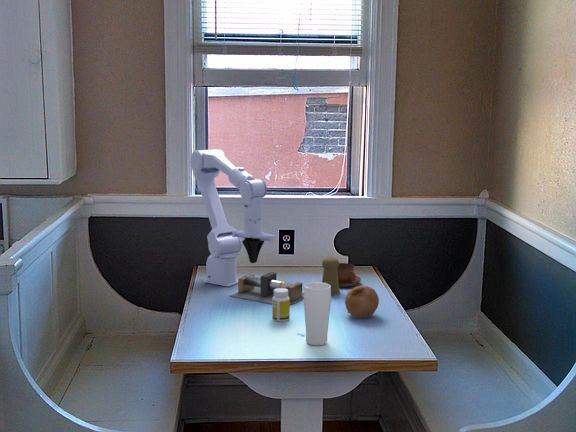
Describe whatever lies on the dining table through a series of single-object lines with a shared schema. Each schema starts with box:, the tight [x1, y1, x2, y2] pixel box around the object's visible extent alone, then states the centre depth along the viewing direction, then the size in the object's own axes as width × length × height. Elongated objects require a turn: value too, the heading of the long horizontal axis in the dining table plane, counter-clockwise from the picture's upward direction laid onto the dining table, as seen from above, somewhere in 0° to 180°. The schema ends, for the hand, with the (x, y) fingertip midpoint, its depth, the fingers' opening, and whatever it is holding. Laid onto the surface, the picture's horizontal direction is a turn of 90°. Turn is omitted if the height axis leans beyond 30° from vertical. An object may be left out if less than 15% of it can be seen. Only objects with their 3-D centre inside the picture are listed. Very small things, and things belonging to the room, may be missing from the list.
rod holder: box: [237, 273, 303, 303], centre depth 223 cm, size 19×6×5 cm, turn 60°
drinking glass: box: [303, 281, 332, 347], centre depth 183 cm, size 7×7×15 cm
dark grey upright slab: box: [260, 271, 277, 296], centre depth 223 cm, size 2×6×6 cm, turn 150°
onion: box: [344, 285, 380, 319], centre depth 204 cm, size 10×9×10 cm
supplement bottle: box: [271, 288, 291, 323], centre depth 201 cm, size 5×5×8 cm
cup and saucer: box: [337, 262, 362, 288], centre depth 237 cm, size 12×12×6 cm
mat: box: [229, 287, 304, 306], centre depth 223 cm, size 20×14×1 cm
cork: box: [321, 257, 341, 296], centre depth 226 cm, size 6×6×11 cm
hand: (253, 262), depth 224 cm, fingers closed
